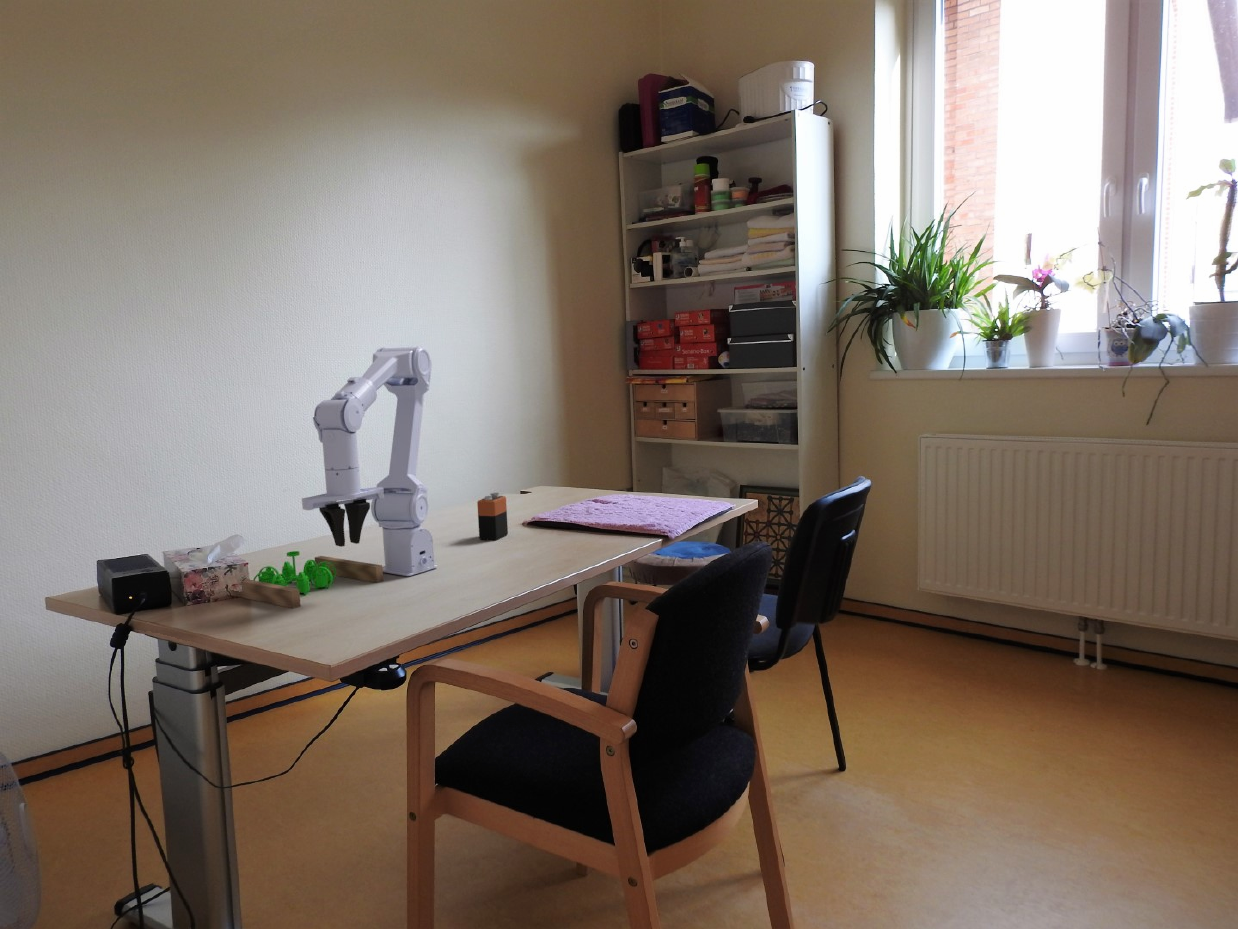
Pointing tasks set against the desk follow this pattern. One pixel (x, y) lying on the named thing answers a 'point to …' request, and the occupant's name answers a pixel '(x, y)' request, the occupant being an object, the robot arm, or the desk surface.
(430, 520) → the desk surface
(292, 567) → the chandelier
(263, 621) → the desk surface
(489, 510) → the battery
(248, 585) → the pair of wooden bars
